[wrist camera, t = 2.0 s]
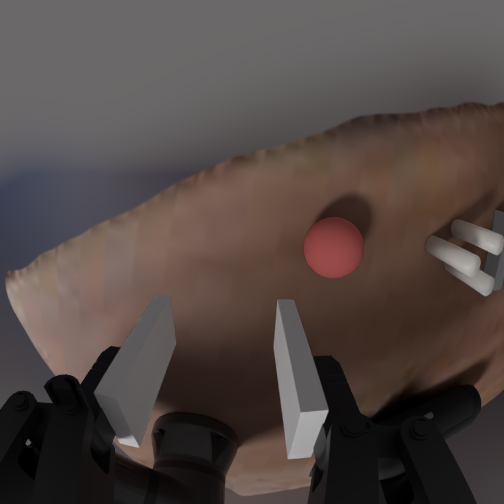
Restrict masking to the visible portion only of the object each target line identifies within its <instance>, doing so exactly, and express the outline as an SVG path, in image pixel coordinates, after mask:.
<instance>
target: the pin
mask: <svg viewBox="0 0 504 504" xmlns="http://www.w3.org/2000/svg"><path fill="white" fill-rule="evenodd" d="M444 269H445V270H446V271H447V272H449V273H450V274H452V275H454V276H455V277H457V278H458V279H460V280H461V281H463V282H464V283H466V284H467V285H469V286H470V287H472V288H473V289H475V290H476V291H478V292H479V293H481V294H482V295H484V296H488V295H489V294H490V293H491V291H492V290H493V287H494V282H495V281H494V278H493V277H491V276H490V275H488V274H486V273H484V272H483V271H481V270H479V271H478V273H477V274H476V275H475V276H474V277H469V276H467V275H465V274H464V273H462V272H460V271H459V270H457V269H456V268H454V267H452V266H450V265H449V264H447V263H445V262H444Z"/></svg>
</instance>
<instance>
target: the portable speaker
mask: <svg viewBox="0 0 504 504" xmlns="http://www.w3.org/2000/svg"><path fill="white" fill-rule="evenodd" d="M480 410H481V398H480V395H479V393H478V391H477V389H476V388H475V387H474V386H472V385H470V384H467V385H459V386H456V387H454V388H453V389H451V390H449V391H447V392H445V393H443V394H441V395H439V396H437V397H435V398H434V399H431V400H429V401H427V402H425V403H423V404H421V405H419V406H417V407H414V408H412V409H410V410H408V411H405V412H403V413H401V414H398V415H396V416H393V417H391V418H388V419H385V420H383V421H380V422H377V423H374V424H378V425H387V426H401V425H402V423H403V422H404V421H405V420H406V419H408V418H410V417H412V416H423V417H427V418H429V419H430V420H432V421H433V422H434V423H435V425H436V426H437V428H438V429H439V431H440V433H441V435H442V436H443V438H444V440H446V439H447V438H449V437H451V436H452V435H454V434H456V433H457V432H459V431H461V430H462V429H464V428H466V427H467V426H469V425H470V424H471V423H472V422H473V421H474V419H475V418H476V417H477V416H478V414H479V412H480Z"/></svg>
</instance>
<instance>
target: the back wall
mask: <svg viewBox="0 0 504 504" xmlns="http://www.w3.org/2000/svg"><path fill="white" fill-rule="evenodd" d="M492 231H493V232H496V233H498V234H501V235H502V236H503V238H504V212H503V211H498V210H495V211H494V219H493V226H492ZM483 272H484V273H486V274H488V275H490V276H491V277H493V278H494V281H495V282H494V287H493V290H492V291H497V290H501V286H502V283H503V279H504V246H503V249H502V251H501V253H500V254H499V255H495V254H492V253H490V252H488V253H487V258H486V262H485V267H484V271H483Z"/></svg>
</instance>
